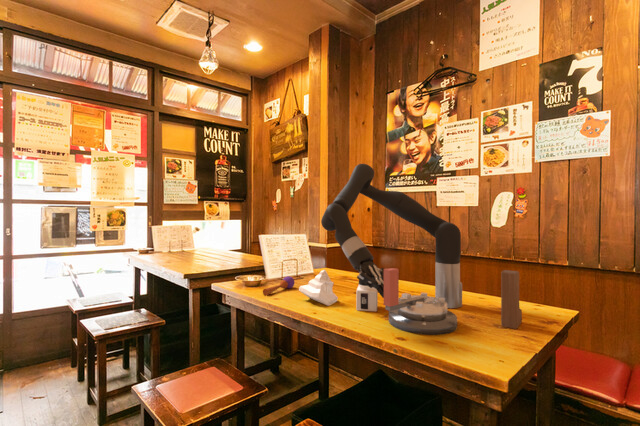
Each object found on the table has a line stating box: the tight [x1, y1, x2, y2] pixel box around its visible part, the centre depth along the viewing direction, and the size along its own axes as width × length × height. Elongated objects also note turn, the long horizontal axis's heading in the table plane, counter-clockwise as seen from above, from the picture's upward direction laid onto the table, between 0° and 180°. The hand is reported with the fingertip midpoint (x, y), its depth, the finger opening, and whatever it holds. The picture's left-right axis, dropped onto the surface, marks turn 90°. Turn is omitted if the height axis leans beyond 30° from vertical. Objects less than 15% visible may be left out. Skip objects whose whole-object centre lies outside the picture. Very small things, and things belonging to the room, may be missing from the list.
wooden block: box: [500, 269, 523, 330], centre depth 111 cm, size 9×4×18 cm, turn 140°
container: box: [355, 279, 379, 312], centre depth 130 cm, size 8×8×13 cm
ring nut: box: [383, 267, 448, 321], centre depth 110 cm, size 26×16×16 cm, turn 127°
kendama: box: [262, 276, 295, 296], centre depth 158 cm, size 6×6×20 cm
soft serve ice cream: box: [298, 269, 339, 307], centre depth 140 cm, size 12×15×14 cm
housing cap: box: [388, 309, 458, 336], centre depth 112 cm, size 22×22×3 cm
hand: (386, 296), depth 105 cm, fingers closed
